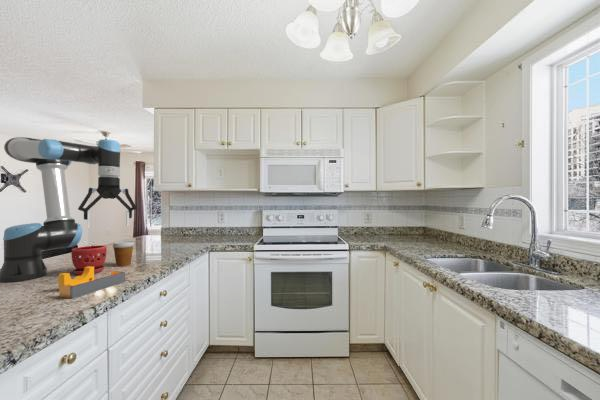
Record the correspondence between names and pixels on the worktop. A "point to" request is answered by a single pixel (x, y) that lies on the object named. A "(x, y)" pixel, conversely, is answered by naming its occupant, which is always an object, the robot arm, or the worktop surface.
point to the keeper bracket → (92, 285)
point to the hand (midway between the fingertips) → (108, 226)
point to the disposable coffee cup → (123, 252)
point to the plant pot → (89, 258)
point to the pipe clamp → (85, 277)
